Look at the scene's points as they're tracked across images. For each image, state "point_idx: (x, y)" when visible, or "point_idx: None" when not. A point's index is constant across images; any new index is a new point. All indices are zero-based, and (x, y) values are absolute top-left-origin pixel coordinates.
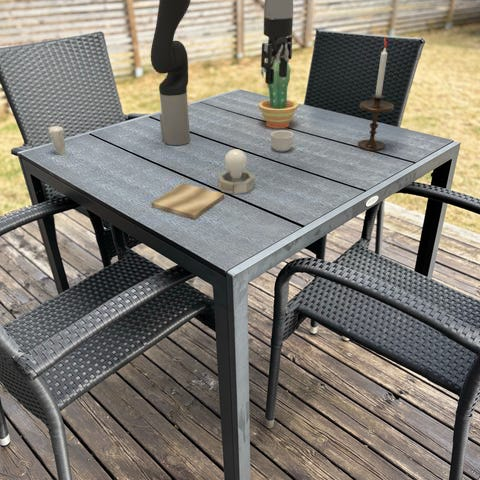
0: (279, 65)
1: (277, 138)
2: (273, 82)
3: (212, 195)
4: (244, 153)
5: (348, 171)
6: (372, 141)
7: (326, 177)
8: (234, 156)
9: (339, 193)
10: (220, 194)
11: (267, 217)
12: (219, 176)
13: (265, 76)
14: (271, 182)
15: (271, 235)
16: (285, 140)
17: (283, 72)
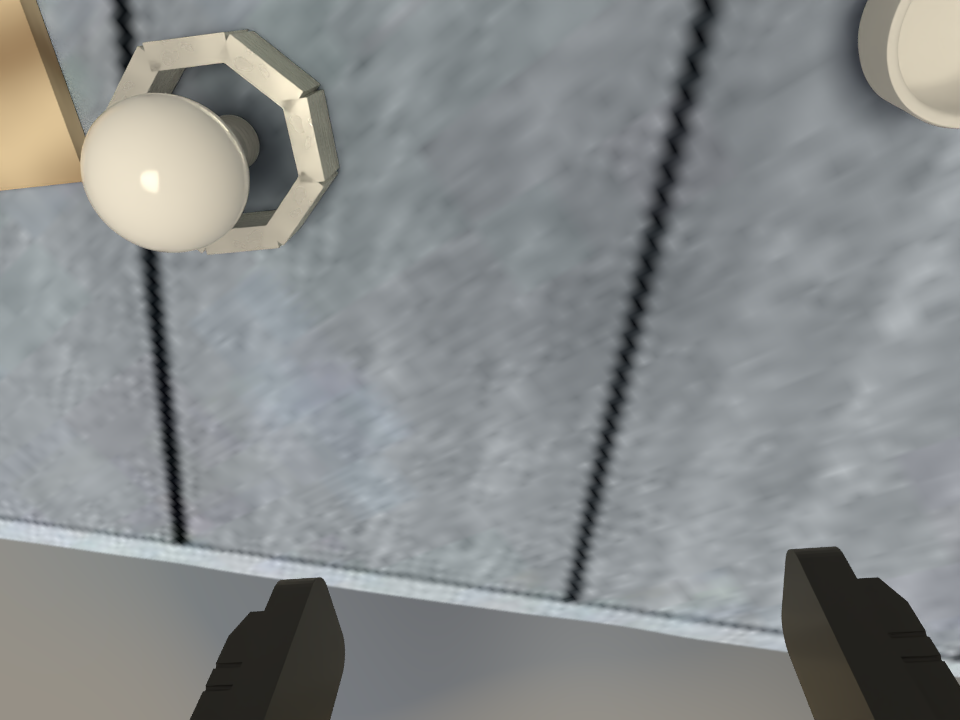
0: (867, 714)
1: (884, 42)
2: (336, 667)
3: (26, 140)
4: (195, 233)
5: (735, 493)
6: None
7: (614, 445)
8: (100, 216)
9: (491, 541)
10: (66, 169)
11: (129, 425)
12: (141, 61)
13: (249, 651)
14: (402, 267)
15: (53, 494)
16: (896, 102)
17: (809, 664)
